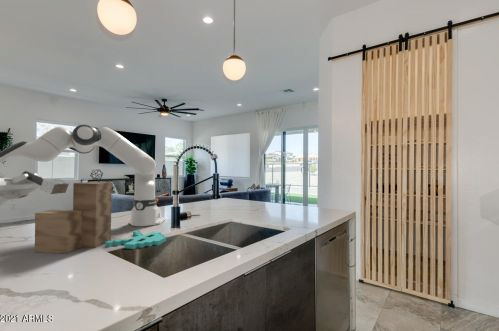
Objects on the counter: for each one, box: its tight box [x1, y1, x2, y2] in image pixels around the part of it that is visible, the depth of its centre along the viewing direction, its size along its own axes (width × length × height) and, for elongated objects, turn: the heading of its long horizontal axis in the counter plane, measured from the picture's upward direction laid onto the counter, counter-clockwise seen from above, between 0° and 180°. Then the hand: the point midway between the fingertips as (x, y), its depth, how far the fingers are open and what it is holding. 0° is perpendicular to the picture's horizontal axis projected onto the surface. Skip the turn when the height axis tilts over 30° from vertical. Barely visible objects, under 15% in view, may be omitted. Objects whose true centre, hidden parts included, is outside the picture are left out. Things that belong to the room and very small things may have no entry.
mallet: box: [21, 170, 70, 195], centre depth 103 cm, size 7×16×4 cm, turn 85°
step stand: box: [34, 181, 113, 254], centre depth 108 cm, size 18×19×26 cm
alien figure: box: [105, 230, 167, 250], centre depth 115 cm, size 20×2×20 cm
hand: (31, 175), depth 104 cm, fingers closed on mallet, 3 cm apart
